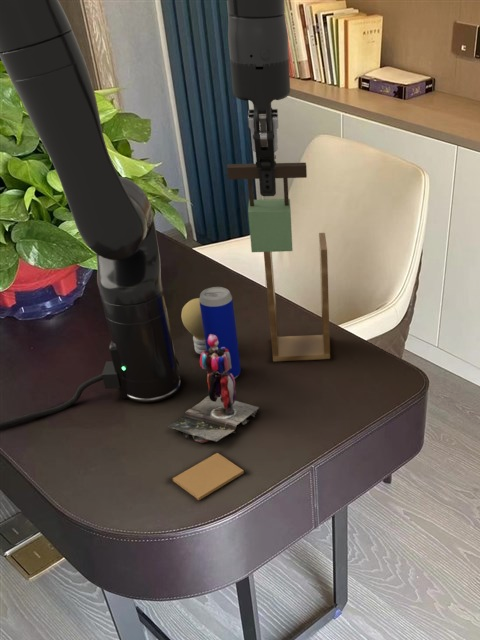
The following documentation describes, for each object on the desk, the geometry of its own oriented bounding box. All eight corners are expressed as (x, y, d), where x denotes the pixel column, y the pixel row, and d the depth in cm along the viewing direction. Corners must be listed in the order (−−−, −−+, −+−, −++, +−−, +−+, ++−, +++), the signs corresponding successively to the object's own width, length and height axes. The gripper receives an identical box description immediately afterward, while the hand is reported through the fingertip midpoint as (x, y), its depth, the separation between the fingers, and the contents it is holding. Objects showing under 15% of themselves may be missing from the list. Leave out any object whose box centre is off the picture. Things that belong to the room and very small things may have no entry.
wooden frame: (273, 361, 126) (263, 251, 114) (273, 341, 132) (264, 234, 119) (330, 359, 127) (327, 249, 114) (328, 339, 132) (324, 232, 119)
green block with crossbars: (234, 253, 106) (226, 171, 99) (235, 239, 110) (227, 160, 102) (309, 250, 107) (306, 169, 99) (308, 237, 111) (305, 158, 103)
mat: (199, 500, 98) (198, 497, 98) (172, 481, 102) (172, 478, 101) (244, 473, 103) (243, 470, 103) (217, 455, 106) (217, 452, 106)
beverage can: (244, 367, 125) (234, 286, 115) (237, 383, 121) (227, 301, 111) (214, 365, 125) (203, 285, 116) (207, 382, 121) (194, 300, 112)
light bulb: (231, 348, 130) (224, 297, 123) (207, 364, 126) (199, 312, 119) (204, 339, 132) (196, 288, 126) (180, 354, 128) (171, 303, 122)
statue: (212, 404, 118) (205, 317, 110) (259, 419, 115) (256, 330, 107) (167, 432, 110) (157, 341, 102) (217, 449, 107) (210, 356, 98)
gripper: (231, 45, 97) (243, 177, 108) (227, 66, 87) (240, 210, 98) (287, 45, 98) (293, 176, 109) (289, 66, 87) (295, 209, 98)
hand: (268, 192), depth 103 cm, fingers closed on green block with crossbars
